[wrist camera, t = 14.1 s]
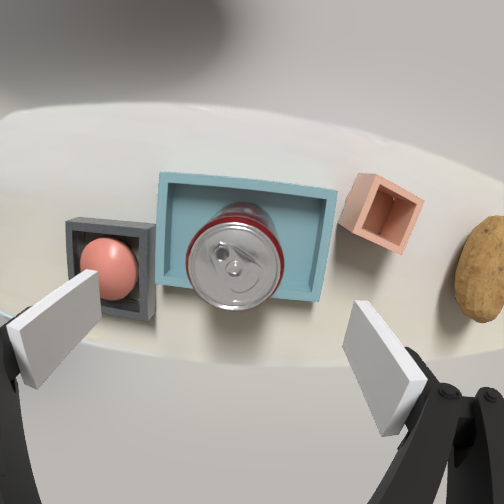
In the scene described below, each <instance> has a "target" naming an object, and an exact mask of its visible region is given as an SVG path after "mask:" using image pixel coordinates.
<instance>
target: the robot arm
mask: <svg viewBox="0 0 504 504" xmlns="http://www.w3.org/2000/svg"><path fill="white" fill-rule="evenodd" d="M101 319H102V314H101V304H100V292H99V279H98V271H94V270H88V269H86V270H84V271H83V272H81V273H80V274H78V275H77V276H75V277H74V278H72V279H71V280H69V281H68V282H66V283H65V284H63V285H62V286H60V287H59V288H57V289H56V290H54V291H53V292H52V293H50V294H49V295H47V296H46V297H44V298H43V299H42V300H40V301H39V302H37V303H36V304H35V305H32V306H30V307H27V308H26V309H25V310H23V311H22V312H21V313H19V314H18V315H16V317H14V318H12V319H11V320H10V321H8V322H7V323H6V324H4V325H3V326H2V327H0V504H42V503H41V500H40V497H39V494H38V490H37V487H36V484H35V480H34V476H33V473H32V469H31V464H30V460H29V456H28V451H27V446H26V441H25V435H24V429H23V423H22V417H21V409H20V399H19V389H18V383H17V380H16V376H17V375H18V374H19V373H21V376H22V379H23V382H24V384H25V385H28V386H30V387H32V388H35V389H37V390H38V389H39V388H40V386H41V385H42V384H43V383H44V382H45V380H46V379H47V378H48V377H49V376H50V375H51V374H52V372H53V371H54V370H55V369H56V368H57V367H58V366H59V365H60V363H61V362H62V361H63V360H64V359H65V358H66V357H67V355H68V354H69V353H70V352H71V351H72V350H73V349H74V348H75V347H76V345H77V344H78V343H79V342H80V341H81V340H82V339H83V338H84V337H85V336H86V335H87V334H88V332H89V331H90V330H91V329H92V328H93V327H94V326H95V325H96V324H97V323H98V322H99V321H100V320H101ZM342 347H343V349H344V352H345V354H346V356H347V358H348V361H349V363H350V365H351V367H352V369H353V371H354V374H355V376H356V378H357V381H358V383H359V385H360V387H361V390H362V392H363V395H364V397H365V399H366V401H367V404H368V406H369V408H370V411H371V413H372V416H373V418H374V420H375V423H376V425H377V428H378V429H379V432H380V435H381V437H385V436H392V435H398V434H399V433H400V431H401V429H402V428H403V426H404V424H405V425H406V427H407V429H408V432H407V434H406V436H405V437H404V439H403V440H402V442H401V444H400V445H399V447H398V448H397V449H398V452H397V454H396V455H395V457H394V459H393V461H392V463H391V465H390V467H389V469H388V470H387V472H386V474H385V476H384V477H383V479H382V481H381V483H380V484H379V486H378V488H377V489H376V491H375V493H374V494H373V496H372V497H371V499H370V500H369V502H368V503H367V504H433V502H434V499H435V497H436V494H437V491H438V488H439V486H440V483H441V480H442V477H443V474H444V471H445V468H446V464H447V461H448V477H447V497H446V504H504V398H503V397H502V395H501V394H500V393H499V392H498V391H497V390H495V389H494V388H489V387H483V388H480V389H479V390H478V392H477V394H476V396H475V397H464V396H462V394H461V392H460V391H459V390H458V389H457V388H456V387H454V386H453V385H450V384H447V383H440V382H439V381H438V380H437V379H436V377H435V376H434V375H433V373H432V372H431V371H430V370H429V368H428V367H426V364H425V363H424V361H422V359H421V358H420V356H419V355H418V354H417V353H416V352H415V351H413V350H412V349H410V348H409V347H404V346H403V345H402V344H401V342H400V341H399V340H398V339H397V337H396V336H395V335H394V333H393V332H392V331H391V329H390V328H389V327H388V326H387V324H386V323H385V322H384V320H383V319H382V318H381V317H380V315H379V314H378V313H377V312H376V310H375V309H374V308H373V307H372V305H371V304H370V303H369V302H368V301H363V300H354V303H353V307H352V311H351V315H350V319H349V323H348V327H347V331H346V334H345V338H344V342H343V345H342Z"/></svg>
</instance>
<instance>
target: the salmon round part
mask: <svg viewBox="0 0 504 504" xmlns="http://www.w3.org/2000/svg"><path fill="white" fill-rule="evenodd" d="M80 268H81V272H83V271H84V270H86V269H88V270H94V271H98V279H99V292H100V297H101V298H103V299H106V300H119V299H122V298H124V297H125V296H126V295H128V294H129V292H130V291H131V290H132V289H133V288H134V287H135V285H136V283H137V280H138V274H139V269H138V263H137V260H136V257H135V255H134V253H133V252H132V250H131V249H130V248H129V247H128V245H127V244H125V243H124V242H123V241H121V240H119V239H117V238H115V237H110V236H105V237H100V238H98V239H96V240H94V241H92V242H90V243H89V244H88V245H87V246H86V247H85V248H84V250H83V252H82V255H81V260H80Z"/></svg>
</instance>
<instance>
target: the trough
mask: <svg viewBox="0 0 504 504" xmlns="http://www.w3.org/2000/svg"><path fill="white" fill-rule="evenodd" d="M337 193H338V191H336V190H332V189H326V188H320V187H313V186H306V185H298V184H291V183H283V182H275V181H266V180H257V179H248V178H238V177H228V176H216V175H204V174H191V173H176V172H160V174H159V187H158V202H157V221H156V249H155V284H161V285H169V286H176V287H184V288H191V289H193V287H192V285H191V284H190V282H189V279H188V276H187V273H186V266H185V260H186V252H187V249H188V246H189V244H190V242H191V240H192V238H193V236H194V235H195V234H196V233H197V232H198V230H199V229H200V228H201V227H202V226H203V225H204V224H205V223H206V222H207V221H208V220H209V219H210V218H211V217H213V216H214V215H215V214H216V213H217V212H218V211H219V210H220V209H221V208H223V207H224V206H226V205H228V204H231V203H234V202H250V203H253V204H256V205H258V206H260V207H261V208H263V209H264V210H265V211H266V212H267V213H268V214H269V215H270V217H271V218H272V220H273V222H274V224H275V227H276V231H277V234H278V237H279V241H280V244H281V247H282V251H283V255H284V262H285V269H284V275H283V279H282V281H281V284H280V286H279V288H278V289H277V291H276V292H275V294H274V295H273V296H272V297H271V298H280V299H291V300H302V301H313V302H319V300H320V295H321V289H322V284H323V279H324V274H325V268H326V263H327V257H328V251H329V246H330V239H331V233H332V227H333V221H334V214H335V207H336V200H337Z"/></svg>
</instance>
